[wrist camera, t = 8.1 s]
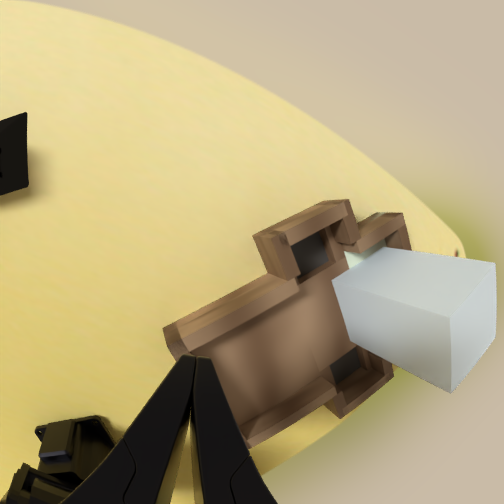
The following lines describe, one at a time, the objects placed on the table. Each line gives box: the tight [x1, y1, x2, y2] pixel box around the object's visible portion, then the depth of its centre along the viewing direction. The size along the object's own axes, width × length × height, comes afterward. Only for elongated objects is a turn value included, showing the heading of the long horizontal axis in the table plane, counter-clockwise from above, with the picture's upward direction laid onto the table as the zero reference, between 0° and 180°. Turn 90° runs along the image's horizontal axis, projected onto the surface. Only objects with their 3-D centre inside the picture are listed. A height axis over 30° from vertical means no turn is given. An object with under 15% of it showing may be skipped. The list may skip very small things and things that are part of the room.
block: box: [331, 247, 497, 393], centre depth 19 cm, size 6×6×11 cm
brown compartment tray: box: [163, 199, 412, 449], centre depth 23 cm, size 20×17×3 cm
